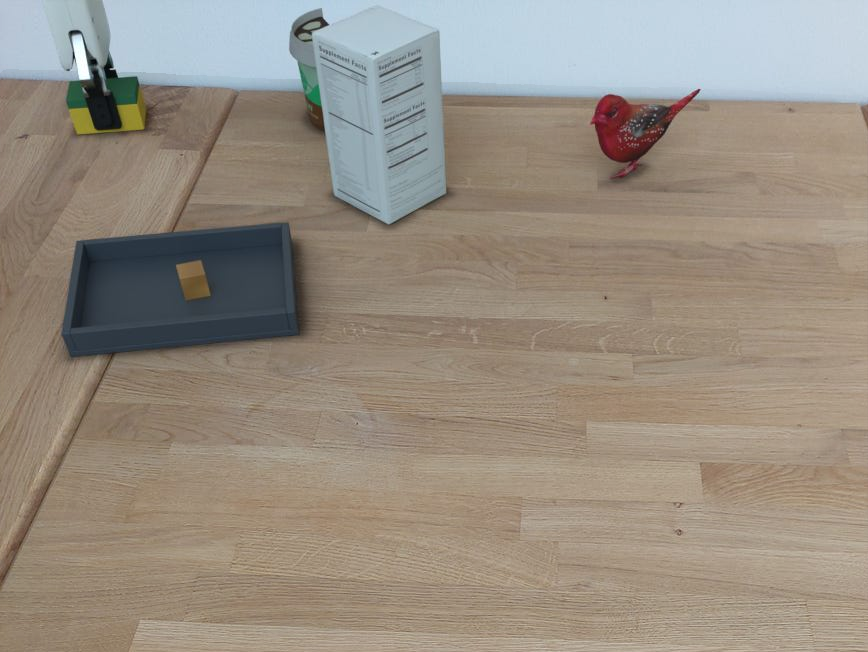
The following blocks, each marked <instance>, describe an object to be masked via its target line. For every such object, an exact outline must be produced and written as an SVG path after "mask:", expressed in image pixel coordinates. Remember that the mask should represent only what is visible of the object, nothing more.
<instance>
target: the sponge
mask: <svg viewBox="0 0 868 652" xmlns="http://www.w3.org/2000/svg"><path fill="white" fill-rule="evenodd" d="M99 80H100V79H99ZM106 80H107V84H108V88H109V92H113V95H114V99H115V102H116V106H117V109H118V112H119V116H120V119H121V122H122V127H121V128H120V129H112V130H99V131H98V130H96V129H95V128H94V125H93V122H92V119H91V116H90V113H89V110H88V106H87V103H86V100H85V97H84V93H83V89H82V86H81V82H80V79H79V80H70V81H69V82H68V88H67V91H66V92H67V93H66V96H65V97H66V98H65V103H66V106H67V109H68V111H69V115H70V118H71V120H72V123H73V127H74V130H75V133H76V135H77V136H78V135H88V134H89V135H91V134H102V133H103V134H104V133H115V132H128V131H140V130H141V131H142V130H145V127H146V116H147V108H146V107H147V106H146V103H145V100H144V95H143V92H142V89H141V85H140V82H139V78H138V76H137V75H135V76H134V75H133V76H122V77H121V76H118V78H106Z"/></svg>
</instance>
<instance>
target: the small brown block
mask: <svg viewBox="0 0 868 652" xmlns="http://www.w3.org/2000/svg"><path fill="white" fill-rule="evenodd" d="M176 267H177V271H178V275H179V279H180V282H181V286H182V289H183V293H184V296H185V299H186V301H188V300H193V299H198V298H203V297H208V296H211V294H210V290H209V286H208V282H207V279H206V275H205V271H204V268H203V265H202V261H201V260H199V261H193V262H188V263H183V264H178V265H176Z"/></svg>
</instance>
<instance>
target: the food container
mask: <svg viewBox="0 0 868 652" xmlns="http://www.w3.org/2000/svg"><path fill="white" fill-rule="evenodd" d="M328 25H330V23H328V21H326V19H325V18H324V12H323V7H320V8H319V7H318V8H315V9H312V10H309V11H308V12H305V13H303V14H301V15H300V16H298V17H297V18H296V19H295V20H294V21H293V23H292V25H291V29H290V31H289V41H288V42H289V43H288V46H289V47H288V50H289V53H290V55H291V57H292V58H293V59H295V60H296V62H297V67H298V71H299V76H300V80H301V84H302V90H303V93H304V98H305V104H306V107H307V113H308V117H309V121H310V124H311V125H312V126H313V127H314V128H315V129H317V130H318V131H320V132H324V133H325V126H324V118H323V111H322V104H321V97H320V90H319V83H318V76H317V68H316V61H315V54H314V47H313V40H312V33H313V32H315V31H317V30H319V29H321V28H324V27H326V26H328Z"/></svg>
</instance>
